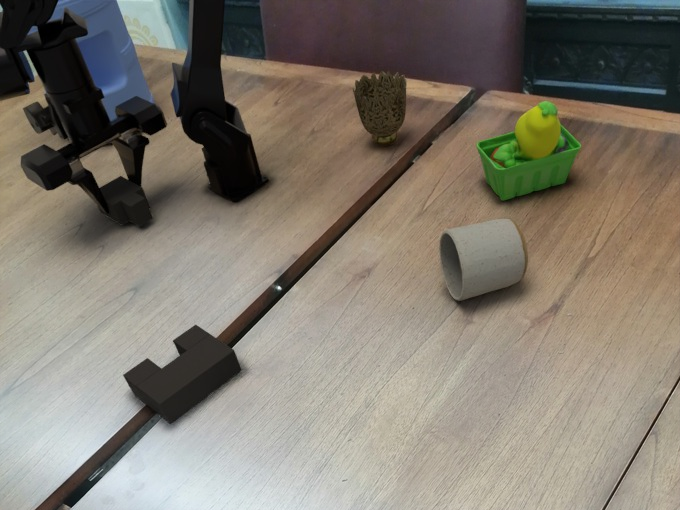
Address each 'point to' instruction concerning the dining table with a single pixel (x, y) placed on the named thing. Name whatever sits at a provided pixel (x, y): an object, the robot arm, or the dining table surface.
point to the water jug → (107, 51)
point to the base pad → (184, 374)
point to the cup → (381, 105)
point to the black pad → (126, 202)
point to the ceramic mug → (482, 257)
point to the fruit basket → (529, 154)
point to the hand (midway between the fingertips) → (122, 203)
